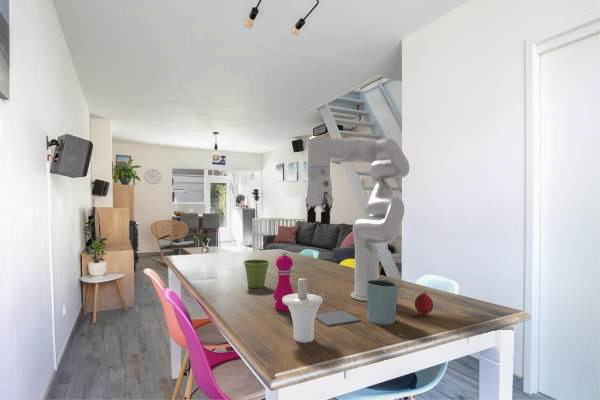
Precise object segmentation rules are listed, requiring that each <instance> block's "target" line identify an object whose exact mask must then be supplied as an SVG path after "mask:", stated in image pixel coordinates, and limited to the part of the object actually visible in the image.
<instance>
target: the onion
mask: <svg viewBox="0 0 600 400" xmlns="http://www.w3.org/2000/svg"><path fill="white" fill-rule="evenodd" d="M414 308H415V309H416V311H417V312H418V313H419V314H420V315H422V316H424V317H425V316H427V315H428V314H430V313H431V312H432V311H433V309H434V302H433V300H432V298H431V297H430V296H429V294H427V291H422V293H421V294H419V295H418V296H416V298H415V300H414Z"/></svg>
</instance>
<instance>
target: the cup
mask: <svg viewBox="0 0 600 400" xmlns="http://www.w3.org/2000/svg"><path fill="white" fill-rule="evenodd" d="M288 308H289V310H288V311H289V312H290V315H291V319H292V325H293V326H292V328H293V340H294V341H295V342H296V343H297V342H298V343H303V344H307V343H311V342H313V341H314V339H315V321H316V319H315V318H316V314H318V311H319V308H320V305H319V306H315V307H305V308H302V307H292V306H288Z"/></svg>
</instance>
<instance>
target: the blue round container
mask: <svg viewBox="0 0 600 400" xmlns="http://www.w3.org/2000/svg"><path fill="white" fill-rule="evenodd" d="M399 286H400V284H399V283H398V282H396V281H394V280H390V279H382V278H381V279H380V278H379V279H372V280H368V281H366V288H367V301H366V307H367V308H366V309H367V312H366V313H367V320H368V322H370V323H372V324H376V325H382V326H383V325H384V326H386V325H393V324H394V323H395V322H396V314H397V303H398V295H399Z"/></svg>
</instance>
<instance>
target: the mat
mask: <svg viewBox="0 0 600 400" xmlns="http://www.w3.org/2000/svg"><path fill="white" fill-rule="evenodd" d="M315 320H316V321H319V322H320V323H321V324H323V325H324V326H326V327H332V326H338V325H345V324H351V323H357V322H361V319H360V318H358V317H357V316H355V315H352V314H350V312H347V311H344V310H335V311H329V312H322V313H316V318H315Z"/></svg>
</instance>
